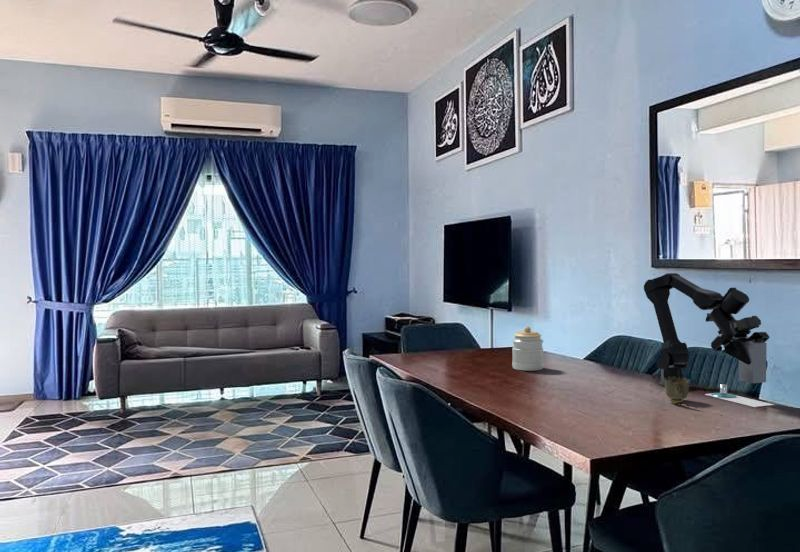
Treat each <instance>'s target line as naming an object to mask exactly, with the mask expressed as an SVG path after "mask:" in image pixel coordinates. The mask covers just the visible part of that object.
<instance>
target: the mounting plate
mask: <svg viewBox="0 0 800 552" xmlns="http://www.w3.org/2000/svg"><path fill="white" fill-rule="evenodd" d="M712 393H713V392H712ZM712 393H705V394H704V395H705V396H708V397H709V396H710V397H713V398H718V399H721V400H725V401H730V402H732V403H733V402H734V403H738V404H741V405H744V406H748V407H752V408H753V407H754V408H757V407H767V406H775V404H774V403H768V402H765V401H761V400H757V399H753V398H748V397H744V396H739V395H736V397H735V398H720V397H715V396H712V395H711V394H712Z"/></svg>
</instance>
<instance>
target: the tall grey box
mask: <svg viewBox="0 0 800 552" xmlns="http://www.w3.org/2000/svg"><path fill="white" fill-rule="evenodd" d="M741 348H742V349H743V351H744V352H745V354H746V355H747V357H748V358H749V360H750V362H751V363H750V364H749V365H747V364H746V363H744V362H742V361H740V360H738V381H739V382H740V381H741V382H744V383H748V384H749V383H750V384H760V383H761V384H762V383H767V342H765V343H763V342H756V341H742V342H741Z"/></svg>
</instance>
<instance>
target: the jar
mask: <svg viewBox="0 0 800 552" xmlns="http://www.w3.org/2000/svg"><path fill="white" fill-rule="evenodd" d="M513 336H514V338H513V339H512V340H511V341H512V343H513V345H512V348H511V349H512V362H511V363H512V364H511V366H512V369H514V370H517V371H524V372H525V371H526V372H527V371H528V372H531V371H533V372H534V371H540V370H543V369H544V347H543V343H544V339H542V338H541V337H542V334H540V332H538V331H532V328H531V327H530V326H525V327H524V330H523V331H517V332H516V333H515V334H514V335H513Z"/></svg>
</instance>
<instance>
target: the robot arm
mask: <svg viewBox="0 0 800 552" xmlns="http://www.w3.org/2000/svg"><path fill="white" fill-rule="evenodd" d="M672 289H675V290H677V291H678V292H681V293H682V294H684V296H687V297H689V299H691V300H692V302H693V304H694V305H695V306H696V307H697V308H698V309H700V310H701V311H711V312H709V313H706V317H705V322H713V323H714V325H715V326H716V327H717V328H718V331H717V334H718V335H716V337H715V338H714V339H713V340H712V341H711V343H710V347H711V349H712V350H713V352H715V353H716V352H722V353H723V354H726V355H729V356H731V357H733V358H735V359H736V360H738V361H739V360H740V361H742V362H744V363H746V364H747V365H749V364H750V363H751V362H750V360H749V358H748V357H747V355H746V354H745V352H744V351H743V349H742V348H741V342H742V341H756V342H763V343H767V341H768V340H769V339H770V336H769V334H768V333H767V332H766V331H755V332H754V331H753V333H752V331H751V330H753V329H757V328H759V327H760V326H761V325H762V320H761V319H760V317H758V316H757V315H752V316H749V317H747V316H746V317H743V318H740V319H737V320H736V318H735V317H734V315H737V314H738V313H740V311H742V310H743V309H744V307H745V306H746V305H747V304H748V303H749V302H750V297H749V296H748V294H746V293H744V292H743V291H741V290H739V289H737V287H729V289H728V290H727V292H725V294H724V295H722V293H720V292H717V291H715V290H710V289H707V288H702V287H701V286H699V285H697V284H695V283H693V282H691V281H690V280H688V279H687V278H685V277H683V276H681V275H680V274H679V273H677V272H670V273H668V272H667V273H665V274H663V275H660V276H658V277H655V278H652V279H647V280H645V282H644V285H643V291H644V293H645V296H646V298H647V299H648V300H649V301H650V302H651V304H653V308H654V311H655V315H656V318H657V322H658V326H659V330H660V333H661V337H662V340H663V341H662V342H663V343H662V347H661V350H660V351H661V356H660V357H659V359H658V360H657V361H656V362H655V363H656V364H655V365H656V368H657V369H660V382H658V383H659V384H660V385H661V386H663V387H664V388H665V384H664V378H666V379H668V377H669V376H670V377H671V378H672V377H673V376H675V377H676V378H677V379H678V378H679V377H680V378H681V379H682V378H683V377H684V372H683V370H682V369H686V367H687V364H688V360H689V359H690V357H689V354H690V352H689V350H688V345H687V343H686V342H681V341H680V339H679V337H678V334H677V329H676V326H675V323H674V320H673V315H672V312H671V308H670V305H669V298H670V295H671V290H672ZM751 333H752V334H751ZM749 335H750V336H749ZM722 346H723V347H722ZM723 348H724V349H723Z"/></svg>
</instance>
